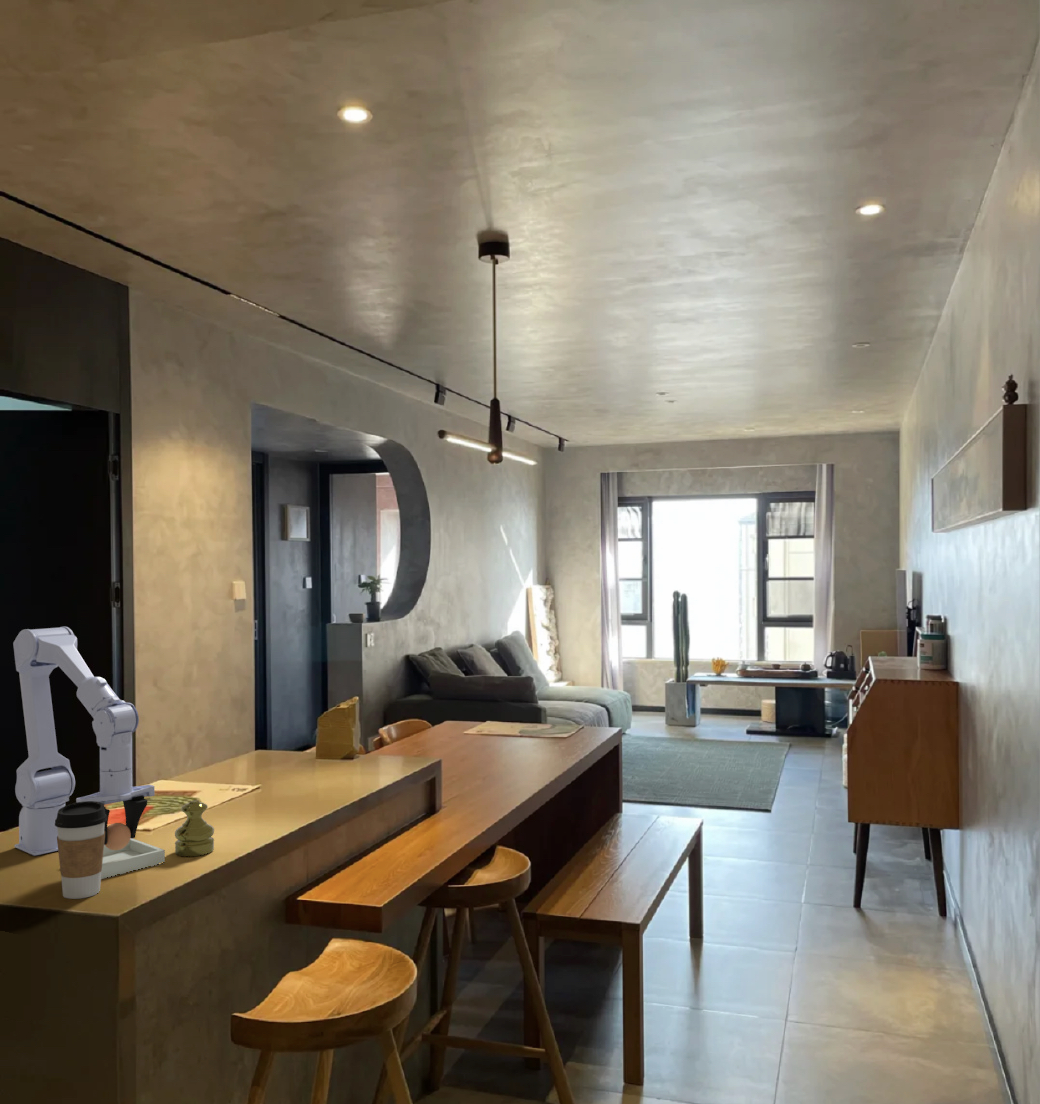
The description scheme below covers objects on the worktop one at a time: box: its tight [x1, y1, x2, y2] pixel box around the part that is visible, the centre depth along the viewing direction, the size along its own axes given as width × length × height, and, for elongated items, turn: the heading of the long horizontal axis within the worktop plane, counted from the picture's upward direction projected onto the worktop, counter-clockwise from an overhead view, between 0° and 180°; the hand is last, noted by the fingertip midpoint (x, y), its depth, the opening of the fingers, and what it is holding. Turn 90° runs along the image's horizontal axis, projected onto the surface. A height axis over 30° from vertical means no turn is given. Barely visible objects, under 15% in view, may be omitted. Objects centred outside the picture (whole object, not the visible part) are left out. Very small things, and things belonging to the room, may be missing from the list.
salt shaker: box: [174, 799, 215, 858], centre depth 199 cm, size 7×7×10 cm
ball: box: [105, 822, 131, 850], centre depth 192 cm, size 5×5×5 cm
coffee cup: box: [55, 801, 107, 900], centre depth 175 cm, size 8×8×15 cm
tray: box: [101, 838, 166, 880], centre depth 191 cm, size 13×13×2 cm
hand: (116, 840), depth 191 cm, fingers closed on ball, 5 cm apart
